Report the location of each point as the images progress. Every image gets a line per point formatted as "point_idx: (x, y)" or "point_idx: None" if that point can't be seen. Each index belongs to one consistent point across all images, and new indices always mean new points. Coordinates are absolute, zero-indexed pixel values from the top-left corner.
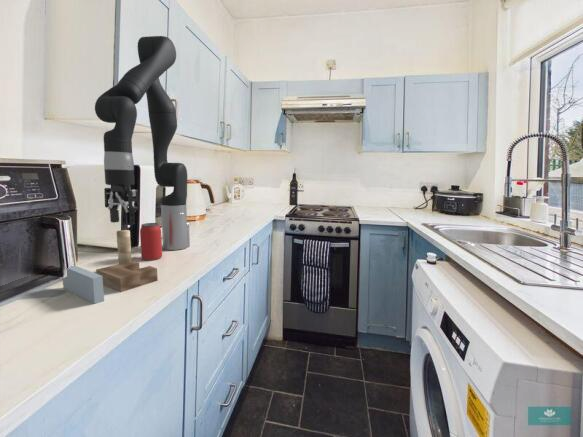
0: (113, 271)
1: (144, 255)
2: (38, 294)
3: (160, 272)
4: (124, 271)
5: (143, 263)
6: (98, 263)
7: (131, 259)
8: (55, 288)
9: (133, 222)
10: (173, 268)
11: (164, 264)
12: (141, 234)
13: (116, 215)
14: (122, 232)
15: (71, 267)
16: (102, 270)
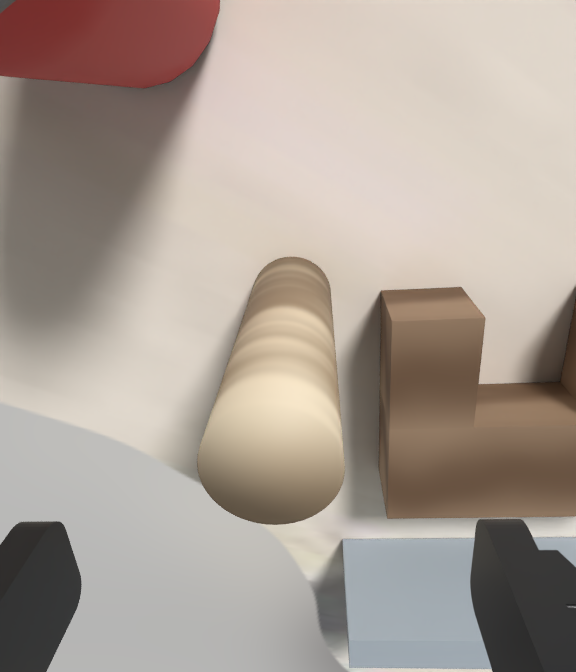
0: (508, 486)
1: (155, 82)
2: (336, 620)
3: (549, 175)
4: (568, 454)
5: (238, 135)
6: (23, 335)
7: (314, 287)
8: (316, 577)
9: (561, 572)
10: (564, 42)
11: (402, 26)
12: (24, 77)
13: (11, 637)
14: (332, 499)
15: (427, 658)
16: (435, 508)
